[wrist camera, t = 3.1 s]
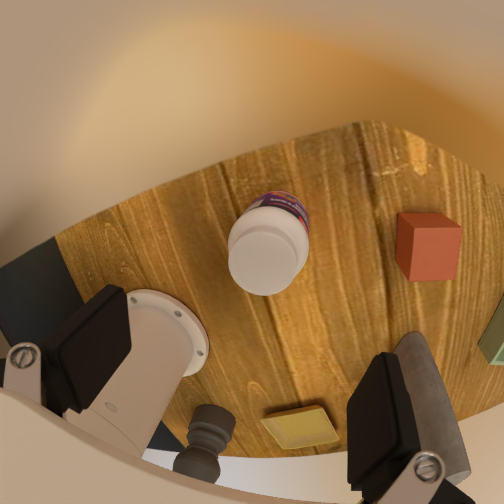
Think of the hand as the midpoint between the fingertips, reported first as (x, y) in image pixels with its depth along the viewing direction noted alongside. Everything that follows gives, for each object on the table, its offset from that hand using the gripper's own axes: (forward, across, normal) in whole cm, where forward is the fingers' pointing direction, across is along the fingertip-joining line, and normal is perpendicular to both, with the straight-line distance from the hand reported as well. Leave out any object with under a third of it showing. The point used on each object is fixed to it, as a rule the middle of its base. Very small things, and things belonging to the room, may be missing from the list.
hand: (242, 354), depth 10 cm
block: (+17, -12, -1) cm, 21 cm away
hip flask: (+17, -17, +17) cm, 29 cm away
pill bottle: (+17, +1, 0) cm, 17 cm away
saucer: (+17, -9, +27) cm, 33 cm away
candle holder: (+17, +3, +31) cm, 35 cm away
